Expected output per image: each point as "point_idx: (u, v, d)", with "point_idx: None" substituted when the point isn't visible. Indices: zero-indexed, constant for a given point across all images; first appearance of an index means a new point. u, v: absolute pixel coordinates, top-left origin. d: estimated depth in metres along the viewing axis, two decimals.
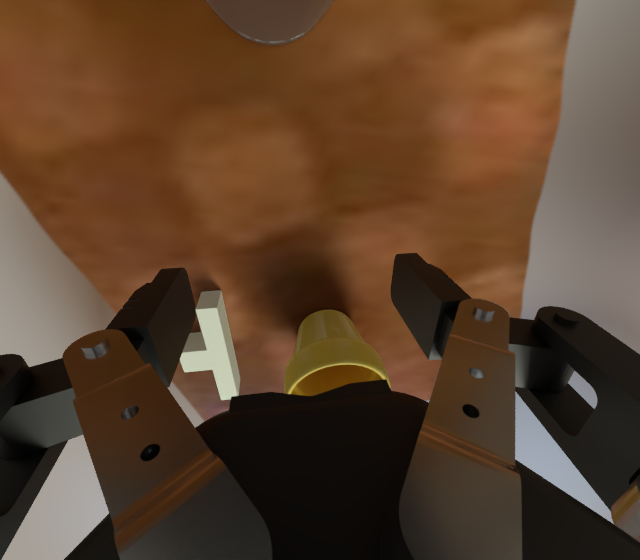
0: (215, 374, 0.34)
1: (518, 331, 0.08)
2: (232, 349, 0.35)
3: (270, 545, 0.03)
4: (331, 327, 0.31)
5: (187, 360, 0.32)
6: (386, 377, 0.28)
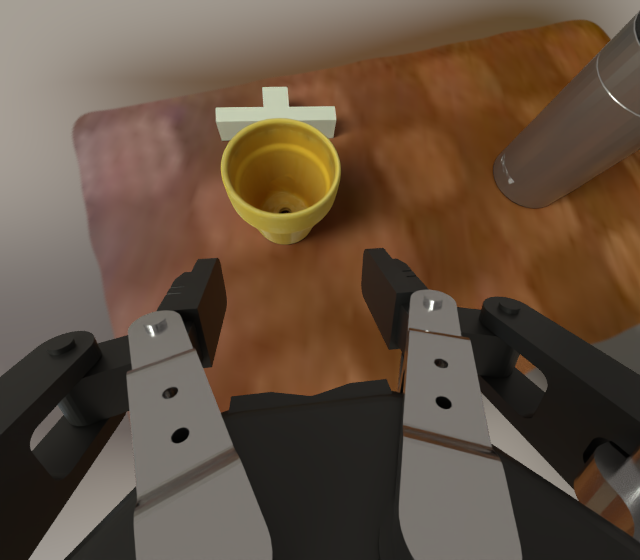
0: (256, 108, 0.36)
1: (466, 320, 0.08)
2: None
3: None
4: None
5: (277, 91, 0.36)
6: (315, 209, 0.25)
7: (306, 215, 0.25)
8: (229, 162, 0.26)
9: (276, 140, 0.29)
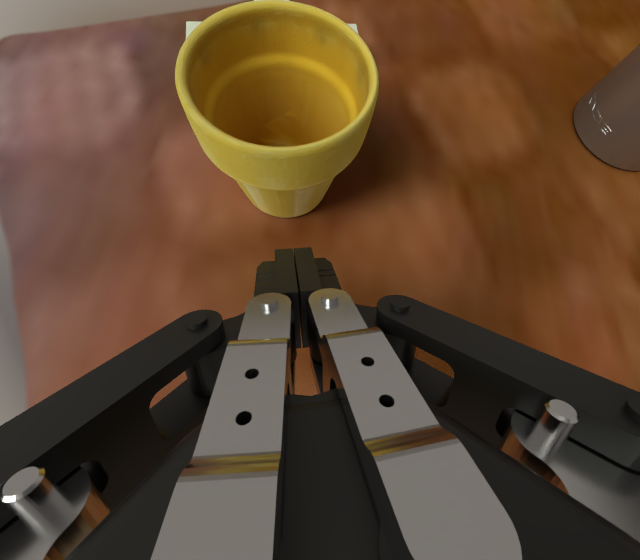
0: None
1: (363, 318, 0.08)
2: None
3: None
4: None
5: None
6: (337, 140, 0.14)
7: (322, 151, 0.14)
8: (191, 66, 0.16)
9: (272, 47, 0.19)
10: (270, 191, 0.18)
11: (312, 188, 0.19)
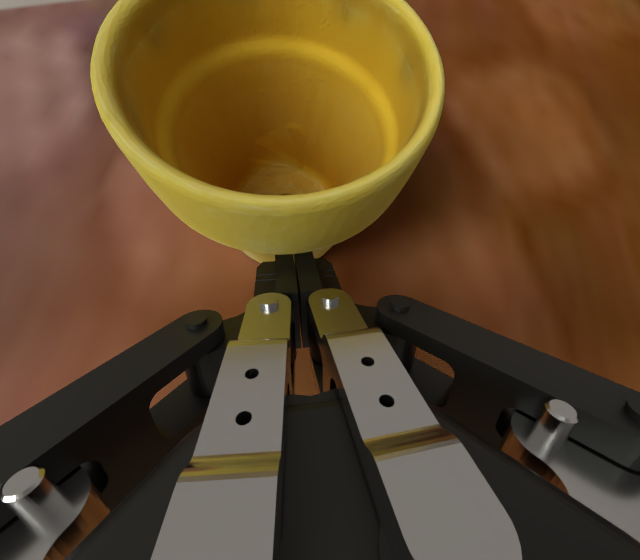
0: None
1: (363, 318, 0.08)
2: None
3: None
4: None
5: None
6: (380, 183, 0.08)
7: (352, 203, 0.08)
8: (127, 49, 0.09)
9: (267, 26, 0.12)
10: None
11: None
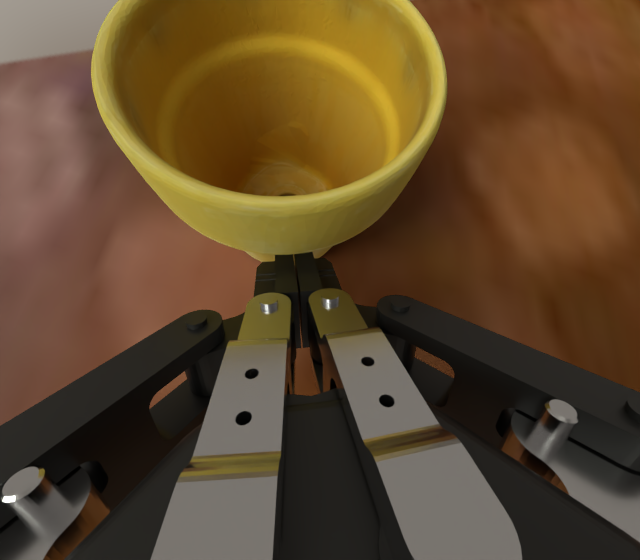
0: None
1: (363, 318, 0.08)
2: None
3: None
4: None
5: None
6: (379, 185, 0.08)
7: (351, 204, 0.08)
8: (127, 47, 0.09)
9: (270, 24, 0.12)
10: None
11: None
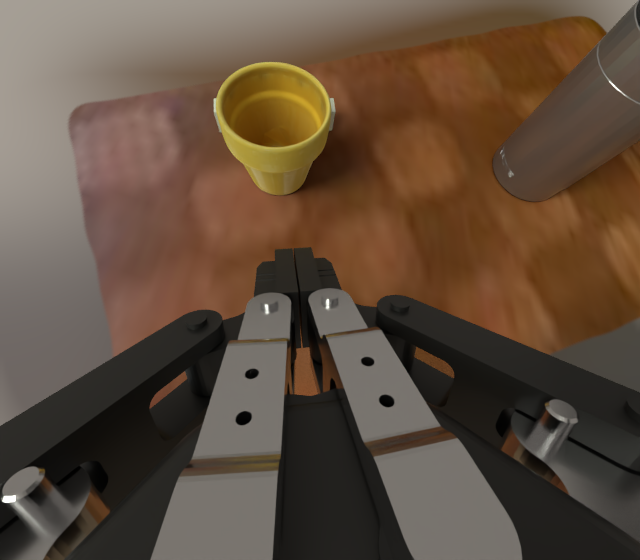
0: None
1: (363, 318, 0.08)
2: None
3: None
4: None
5: None
6: (305, 144, 0.26)
7: (297, 150, 0.26)
8: (224, 101, 0.27)
9: (270, 87, 0.30)
10: (268, 174, 0.30)
11: (294, 173, 0.31)
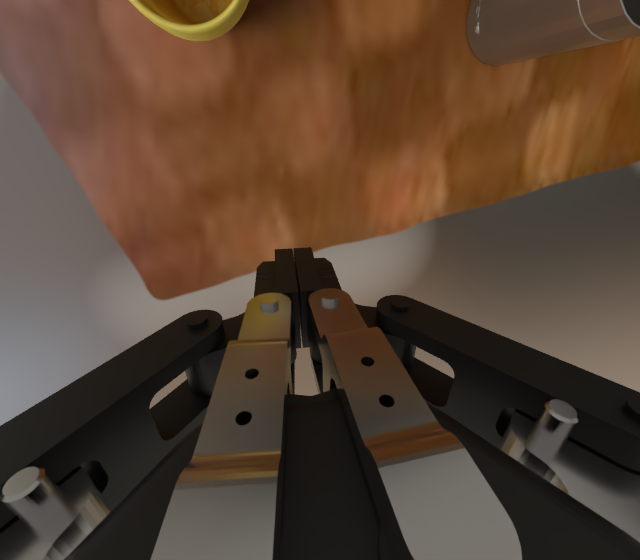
0: None
1: (363, 318, 0.08)
2: None
3: None
4: None
5: None
6: (221, 22, 0.23)
7: (212, 29, 0.24)
8: None
9: None
10: None
11: None
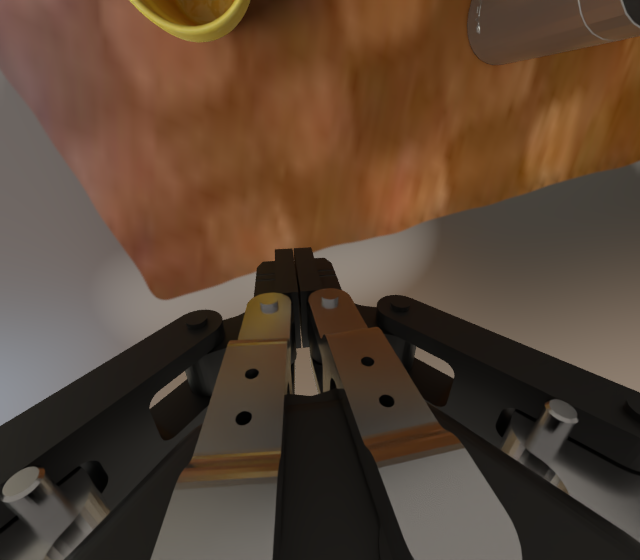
0: None
1: (363, 318, 0.08)
2: None
3: None
4: None
5: None
6: (222, 23, 0.23)
7: (214, 30, 0.24)
8: None
9: None
10: None
11: None
